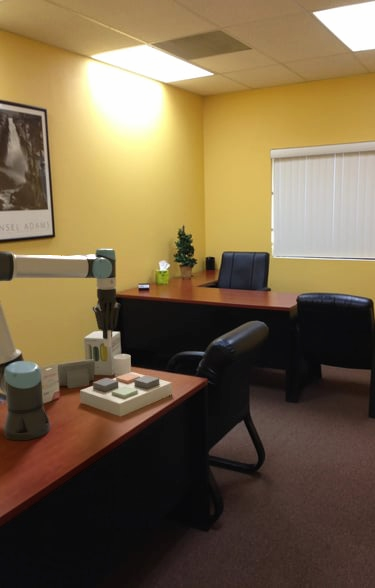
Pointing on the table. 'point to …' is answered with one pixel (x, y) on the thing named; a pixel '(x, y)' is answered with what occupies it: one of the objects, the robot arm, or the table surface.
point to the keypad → (126, 405)
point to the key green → (124, 392)
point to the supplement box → (102, 351)
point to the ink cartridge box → (49, 383)
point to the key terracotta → (127, 378)
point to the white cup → (122, 364)
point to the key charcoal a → (105, 385)
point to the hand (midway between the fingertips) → (107, 346)
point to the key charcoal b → (146, 382)
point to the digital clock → (76, 373)
